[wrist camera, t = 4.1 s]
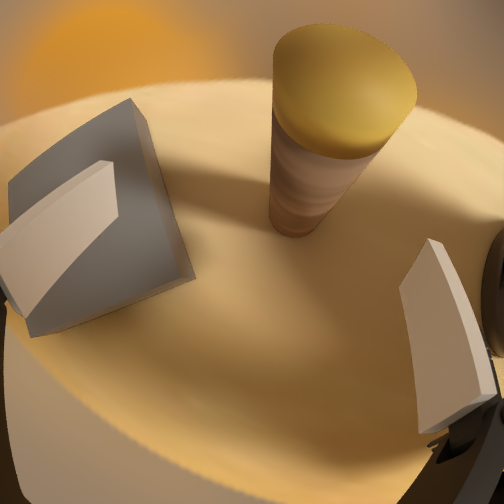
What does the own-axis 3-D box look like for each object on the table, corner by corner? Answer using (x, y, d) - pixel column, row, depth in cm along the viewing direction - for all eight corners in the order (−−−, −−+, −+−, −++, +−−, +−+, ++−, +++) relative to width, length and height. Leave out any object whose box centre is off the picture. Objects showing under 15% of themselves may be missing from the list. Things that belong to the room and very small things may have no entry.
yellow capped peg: (327, 226, 21) (441, 112, 5) (280, 245, 21) (318, 143, 5) (307, 181, 22) (365, 20, 6) (261, 198, 22) (249, 35, 6)
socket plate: (196, 278, 21) (181, 277, 17) (56, 333, 21) (30, 338, 17) (146, 120, 23) (130, 97, 19) (31, 192, 23) (8, 182, 19)
